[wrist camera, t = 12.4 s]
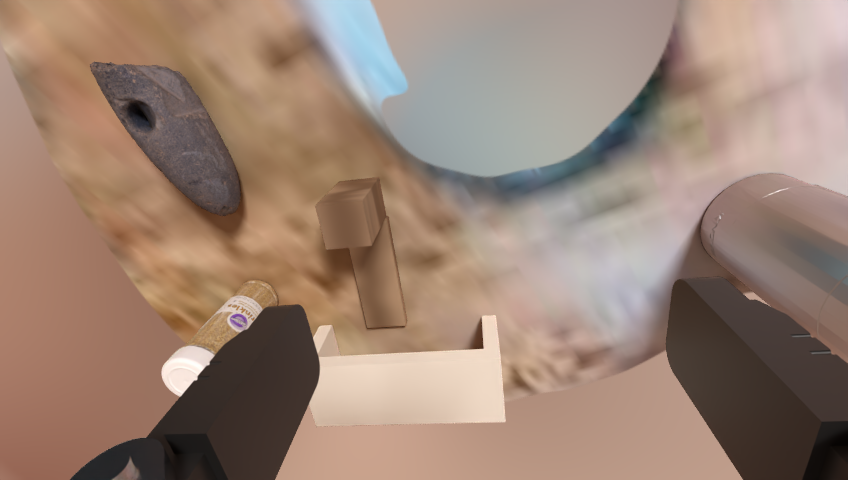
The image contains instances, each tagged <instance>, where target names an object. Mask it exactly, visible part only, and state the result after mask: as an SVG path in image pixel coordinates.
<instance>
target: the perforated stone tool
mask: <svg viewBox="0 0 848 480" xmlns="http://www.w3.org/2000/svg"><path fill="white" fill-rule="evenodd" d="M90 67H91V71H92V73H93V75H94V77H95V78H96V80H97V83H98V85H99V86H100V88H101V91H102V92H103V94H104V96H105V97H106V99H107V100H108V102H109V104H110V106H111V107H112V109H113V110H114V112H115V114H116V115H117V117H118V118H119V120H120V121H121V123H122V124H123V126H124V127H125V129H126V130H127V131H128V133H129V134H130V135H131V137H132V138H133V139H134V140H135V141H136V143H137V144H138V146H139V147H140V148H141V149H142V150H143V152H144V153H145V154H146V155H147V157H148V158H149V159H150V160H151V161H152V162H153V164H154V165H155V166H156V167H157V168H158V169H159V170H160V171H161V172H163V173H164V175H165V176H166V177H167V178H168V179H169V180H170V181H171V182H172V183H173V184H174V185H175V187H177V188H178V189H179V190H180V191H181V192H182V193H183V194H184V195H185V196H187V197H188V198H189V199H190V200H192V201H193V202H194V203H195V204H197V205H198V206H200V207H201V208H203V209H205V210H207V211H209V212H211V213H214V214H217V215H220V216H221V215H223V216H226V215H228V214H232V213H234V212H235V211H236V210H237V209H238V206H239V203H240V196H241V193H240V183H239V179H238V174H237V171H236V168H235V165H234V163H233V160H232V158H231V156H230V154H229V152H228V150H227V148H226V146H225V144H224V142H223V140H222V138H221V136H220V134H219V132H218V131H217V129H216V127H215V125H214V124H213V122H212V120H211V118H210V116H209V114H208V113H207V111H206V109H205V108H204V106H203V105H202V103H201V100H200V99H199V97H198V96H197V95H196V94H195V92H194V91H193V89H192V87H191V86H190V85H189V83H188V82H187V80H186V79H185V77H183V76H182V74H181V73H180V72H178V71H172V70H171V69H169V68H167V67H162V66H157V65H152V66H146V65H142V66H139V65H131V64H130V65H128V64H127V65H126V64H124V65H115V64H113V63H111V62H110V63H100V62H93V63H92V64H90Z"/></svg>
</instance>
